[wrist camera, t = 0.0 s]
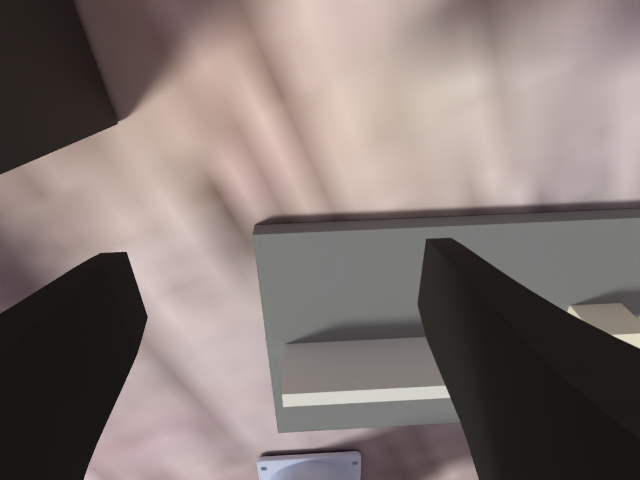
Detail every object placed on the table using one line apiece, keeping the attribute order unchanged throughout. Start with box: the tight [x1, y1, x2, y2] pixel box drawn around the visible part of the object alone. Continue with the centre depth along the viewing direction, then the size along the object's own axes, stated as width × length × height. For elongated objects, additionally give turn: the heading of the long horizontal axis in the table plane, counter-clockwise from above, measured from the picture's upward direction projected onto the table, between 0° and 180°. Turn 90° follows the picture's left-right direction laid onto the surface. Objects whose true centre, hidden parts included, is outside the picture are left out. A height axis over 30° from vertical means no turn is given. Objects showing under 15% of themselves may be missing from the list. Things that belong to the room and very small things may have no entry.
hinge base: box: [253, 208, 640, 433], centre depth 23 cm, size 16×22×4 cm
